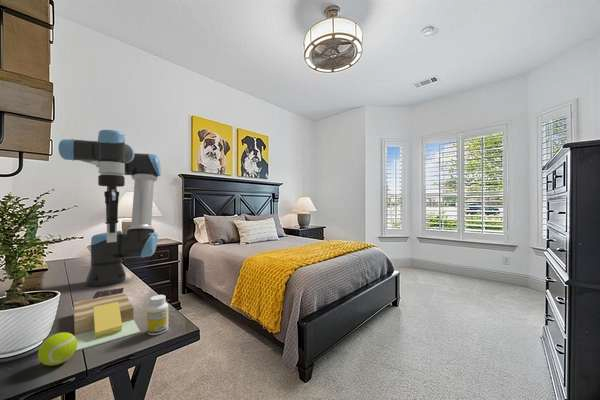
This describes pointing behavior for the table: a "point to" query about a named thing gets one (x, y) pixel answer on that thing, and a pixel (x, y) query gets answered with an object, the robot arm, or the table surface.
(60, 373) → the table surface
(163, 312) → the supplement bottle
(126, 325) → the mat
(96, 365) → the table surface
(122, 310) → the deck
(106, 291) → the chocolate bar
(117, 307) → the yellow sticky note pad
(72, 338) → the tennis ball
